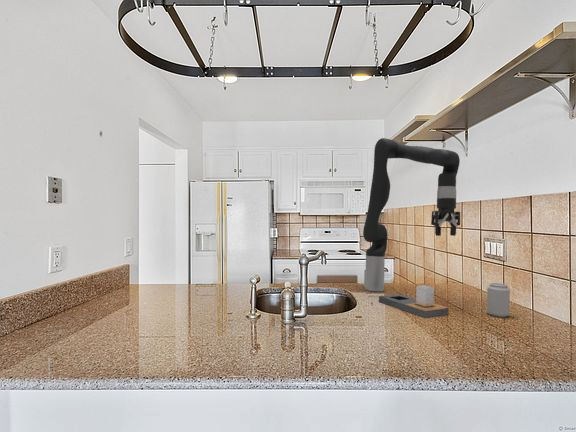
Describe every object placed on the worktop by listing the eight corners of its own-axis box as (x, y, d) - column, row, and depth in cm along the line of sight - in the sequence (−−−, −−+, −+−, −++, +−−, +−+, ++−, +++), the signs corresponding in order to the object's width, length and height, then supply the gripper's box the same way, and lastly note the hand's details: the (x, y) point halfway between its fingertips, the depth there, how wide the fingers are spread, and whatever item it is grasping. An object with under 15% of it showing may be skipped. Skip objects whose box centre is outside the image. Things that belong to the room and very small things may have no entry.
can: (482, 313, 141) (483, 282, 141) (495, 311, 144) (495, 281, 144) (500, 318, 134) (501, 286, 134) (513, 316, 137) (514, 285, 137)
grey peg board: (378, 301, 157) (378, 295, 157) (400, 299, 162) (400, 293, 162) (425, 317, 133) (425, 310, 133) (448, 314, 138) (448, 307, 138)
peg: (416, 311, 142) (416, 285, 142) (424, 310, 144) (424, 285, 144) (424, 314, 138) (425, 288, 138) (433, 313, 140) (433, 287, 140)
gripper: (451, 198, 160) (450, 235, 160) (427, 197, 154) (426, 235, 154) (466, 197, 153) (465, 236, 153) (441, 196, 147) (440, 236, 147)
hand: (445, 235), depth 154 cm, fingers open, 8 cm apart
